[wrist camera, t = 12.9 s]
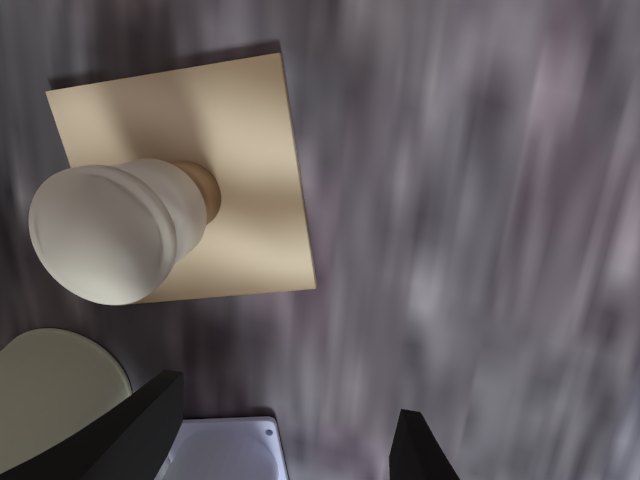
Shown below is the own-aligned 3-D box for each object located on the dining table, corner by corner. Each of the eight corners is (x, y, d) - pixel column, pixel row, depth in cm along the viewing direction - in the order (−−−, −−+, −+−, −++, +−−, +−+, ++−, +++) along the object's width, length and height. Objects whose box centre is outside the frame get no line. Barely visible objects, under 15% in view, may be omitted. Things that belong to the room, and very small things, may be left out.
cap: (117, 133, 16) (43, 140, 12) (227, 185, 16) (188, 208, 12) (90, 234, 18) (17, 268, 14) (190, 280, 18) (146, 326, 14)
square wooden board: (316, 283, 22) (308, 320, 18) (123, 300, 23) (78, 337, 19) (282, 54, 18) (262, 39, 14) (54, 92, 20) (-19, 87, 16)
